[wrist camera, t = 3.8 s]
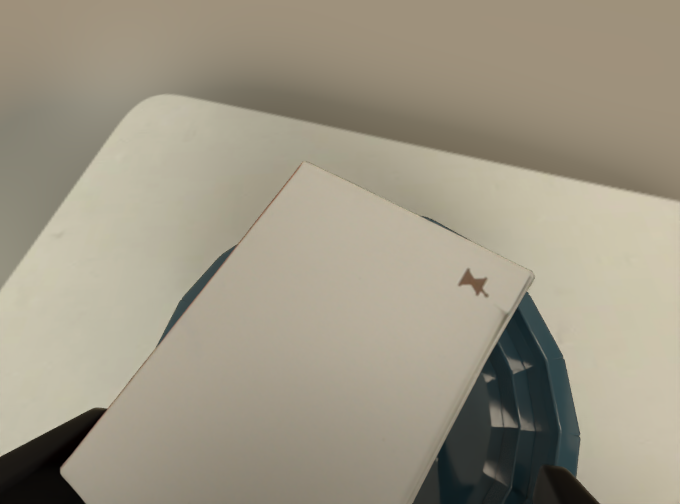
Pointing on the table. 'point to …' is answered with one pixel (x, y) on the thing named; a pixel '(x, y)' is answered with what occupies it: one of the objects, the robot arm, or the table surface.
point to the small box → (308, 361)
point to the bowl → (495, 415)
